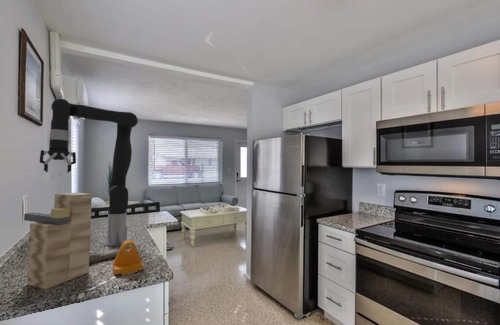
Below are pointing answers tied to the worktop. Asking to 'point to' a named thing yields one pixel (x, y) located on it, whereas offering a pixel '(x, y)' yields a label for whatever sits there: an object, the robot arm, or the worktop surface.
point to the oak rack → (61, 244)
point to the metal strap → (50, 216)
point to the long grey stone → (103, 254)
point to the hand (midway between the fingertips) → (57, 172)
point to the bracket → (127, 259)
